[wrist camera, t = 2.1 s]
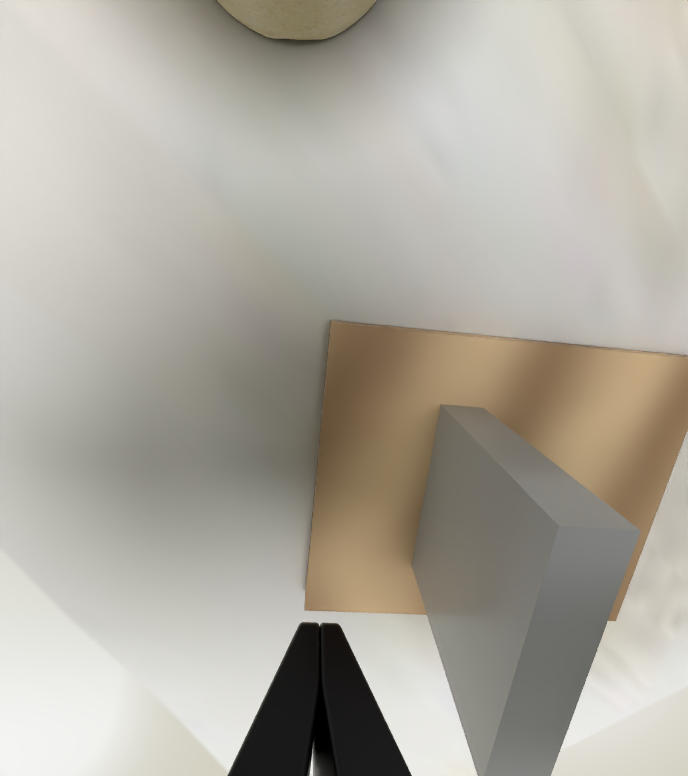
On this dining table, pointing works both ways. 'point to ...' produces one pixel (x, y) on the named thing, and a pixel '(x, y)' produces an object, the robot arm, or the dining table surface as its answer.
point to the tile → (514, 586)
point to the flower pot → (297, 16)
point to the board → (504, 401)
